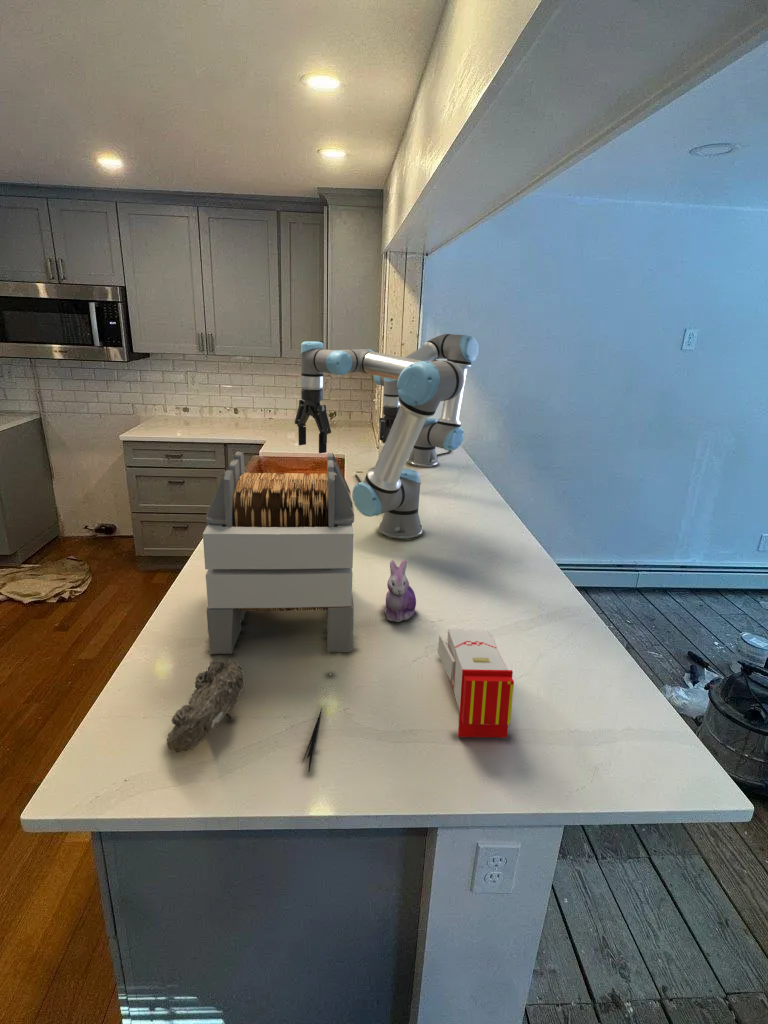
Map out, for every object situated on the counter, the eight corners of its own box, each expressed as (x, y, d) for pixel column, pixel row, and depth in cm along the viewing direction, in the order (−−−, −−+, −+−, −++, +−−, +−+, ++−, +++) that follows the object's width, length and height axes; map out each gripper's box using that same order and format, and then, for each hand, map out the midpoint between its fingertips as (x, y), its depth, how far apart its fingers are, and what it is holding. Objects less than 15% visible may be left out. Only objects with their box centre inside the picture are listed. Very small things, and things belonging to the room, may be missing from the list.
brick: (385, 462, 247) (386, 446, 245) (378, 459, 251) (378, 443, 248) (401, 459, 253) (402, 443, 250) (393, 456, 256) (394, 441, 254)
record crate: (229, 585, 158) (221, 442, 144) (346, 584, 161) (350, 444, 148) (206, 656, 126) (193, 481, 112) (353, 652, 130) (358, 483, 116)
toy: (488, 613, 130) (523, 677, 101) (484, 667, 133) (517, 744, 104) (435, 612, 130) (455, 676, 101) (432, 666, 133) (451, 743, 103)
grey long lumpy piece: (192, 660, 117) (244, 628, 112) (224, 691, 120) (276, 661, 115) (142, 746, 98) (202, 712, 93) (182, 779, 101) (242, 748, 96)
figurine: (392, 627, 141) (395, 572, 136) (374, 608, 149) (376, 556, 144) (425, 619, 145) (429, 566, 140) (405, 601, 154) (408, 550, 149)
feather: (331, 679, 122) (336, 673, 122) (307, 777, 96) (313, 769, 95) (324, 675, 122) (329, 669, 121) (298, 772, 95) (304, 764, 95)
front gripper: (341, 392, 188) (340, 454, 195) (302, 383, 206) (303, 440, 213) (322, 393, 184) (322, 457, 191) (284, 384, 202) (285, 442, 209)
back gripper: (412, 408, 239) (410, 461, 247) (385, 401, 252) (383, 452, 260) (399, 410, 235) (397, 464, 243) (371, 403, 248) (370, 454, 256)
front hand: (312, 448), depth 202 cm, fingers open, 13 cm apart
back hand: (390, 458), depth 251 cm, fingers closed on brick, 5 cm apart
